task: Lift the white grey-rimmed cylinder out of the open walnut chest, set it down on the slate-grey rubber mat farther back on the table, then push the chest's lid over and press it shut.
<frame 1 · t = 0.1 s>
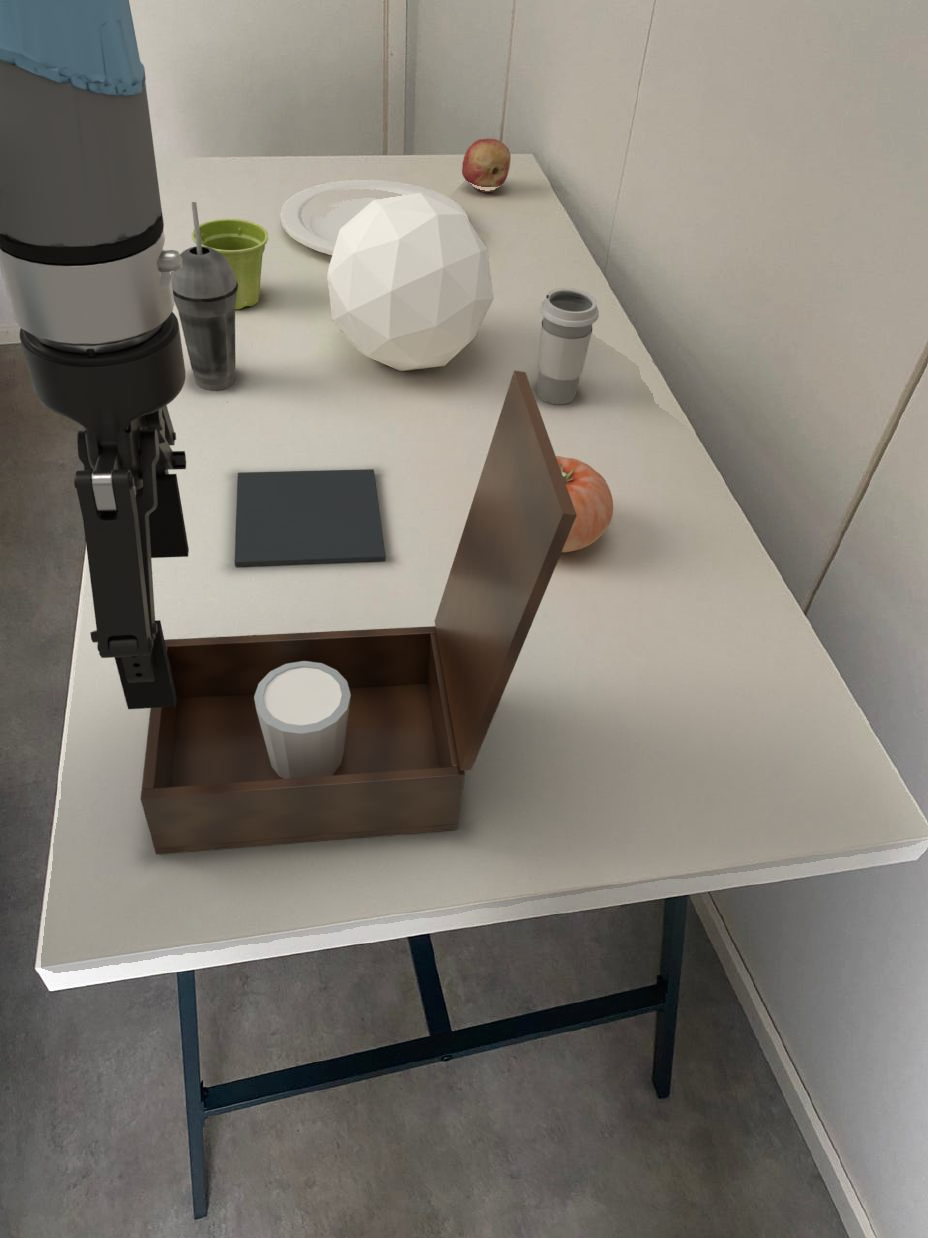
hand: (161, 623, 62), 16 cm above the table, tool pointing down, fingers open, 13 cm apart
drying mat: (308, 517, 96), on the table
beverage cup: (215, 381, 113), on the table
plant pot: (236, 300, 127), on the table
chest: (307, 760, 75), on the table
tomato: (551, 536, 97), on the table
ball: (407, 358, 120), on the table
fruit: (483, 191, 160), on the table
plate: (375, 232, 145), on the table
cup: (555, 395, 116), on the table
white grey-rimmed cylinder: (306, 756, 74), point 1 cm above the table, touching chest
chest lid: (491, 578, 64), point 18 cm above the table, hinge at 100.0°
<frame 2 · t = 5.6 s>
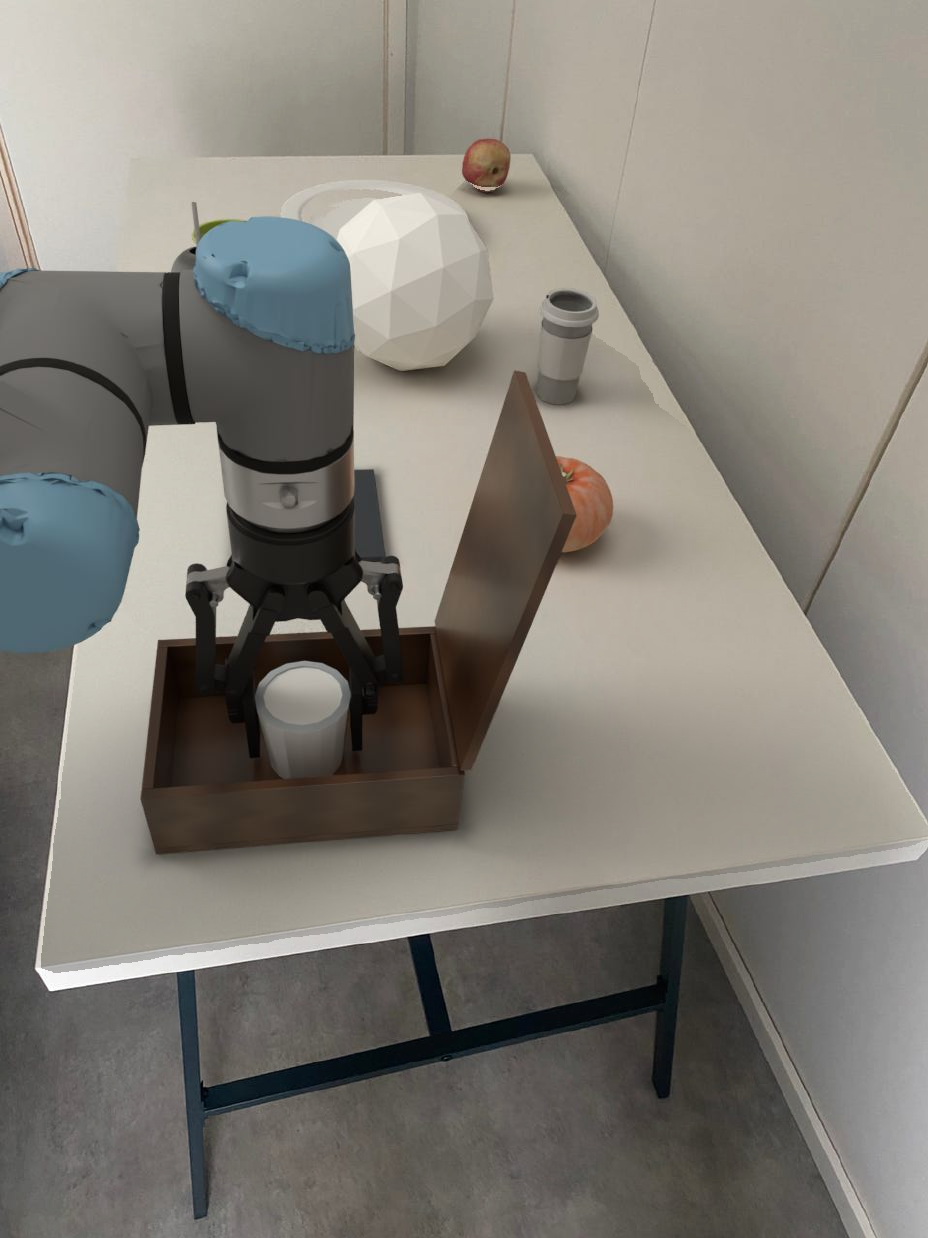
hand: (305, 739, 73), 3 cm above the table, tool pointing down, fingers closed on white grey-rimmed cylinder, 7 cm apart
white grey-rimmed cylinder: (306, 756, 74), point 1 cm above the table, touching chest, gripper
everything else where it was.
when the fingers open (2 cm above the table, at t = 13.9 s): white grey-rimmed cylinder stays where it is, resting on drying mat.
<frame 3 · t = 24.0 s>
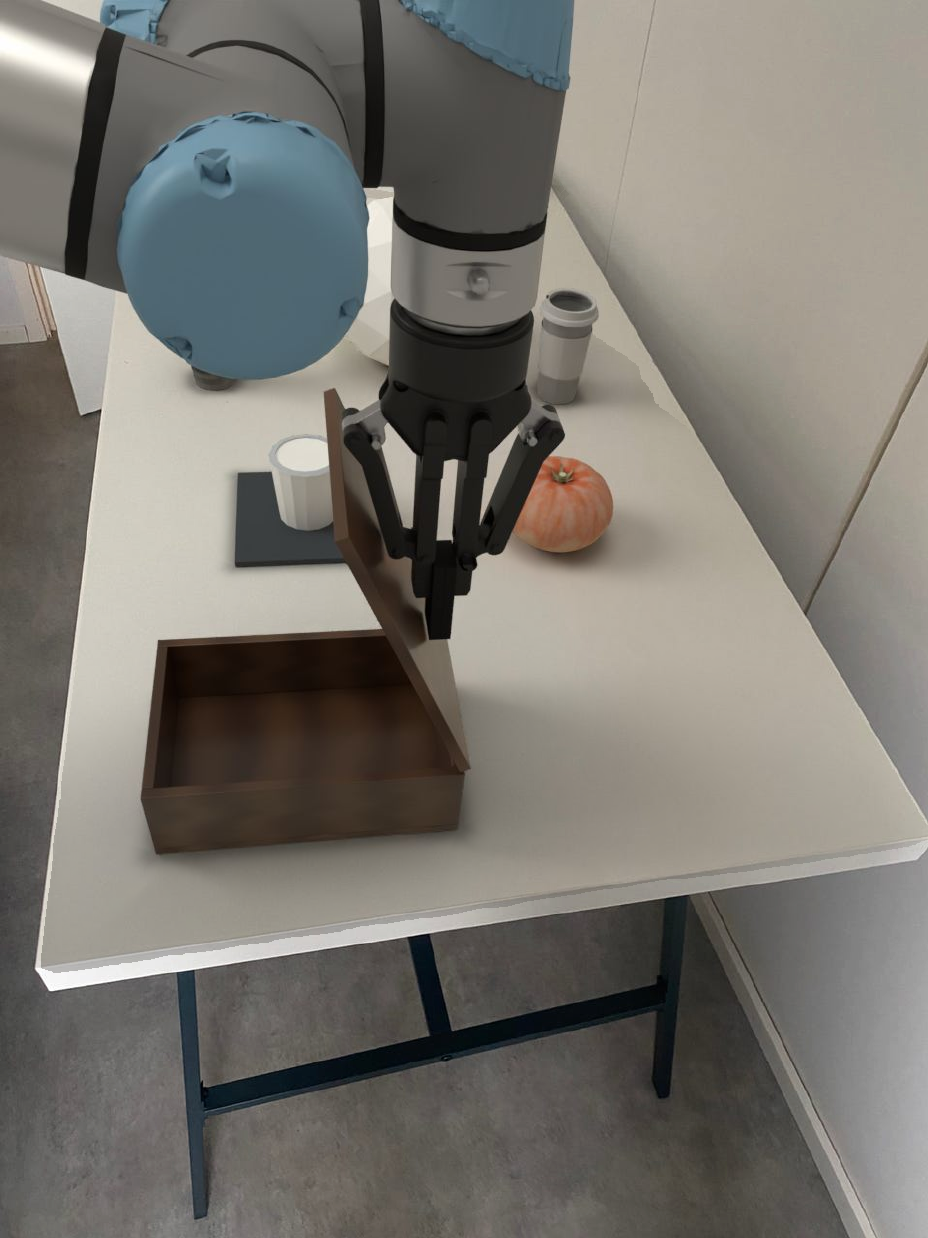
hand: (437, 625, 66), 14 cm above the table, tool pointing down, fingers closed
white grey-rimmed cylinder: (308, 514, 96), resting on drying mat
chest lid: (400, 588, 63), point 18 cm above the table, hinge at 68.8°, touching gripper
everything else where it was.
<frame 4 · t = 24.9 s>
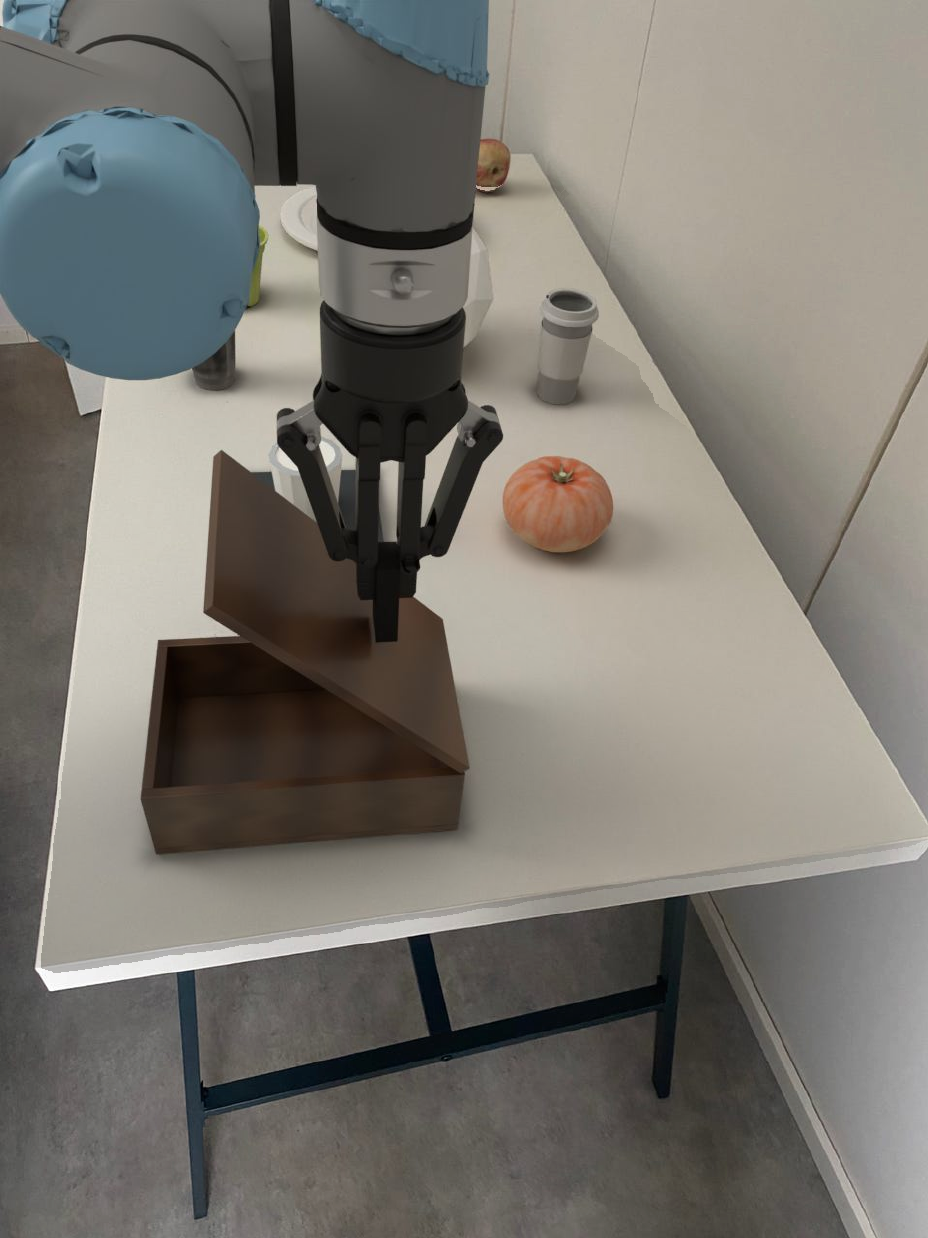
hand: (384, 627, 66), 14 cm above the table, tool pointing down, fingers closed
chest lid: (345, 616, 64), point 15 cm above the table, hinge at 46.8°, touching gripper
everything else where it was.
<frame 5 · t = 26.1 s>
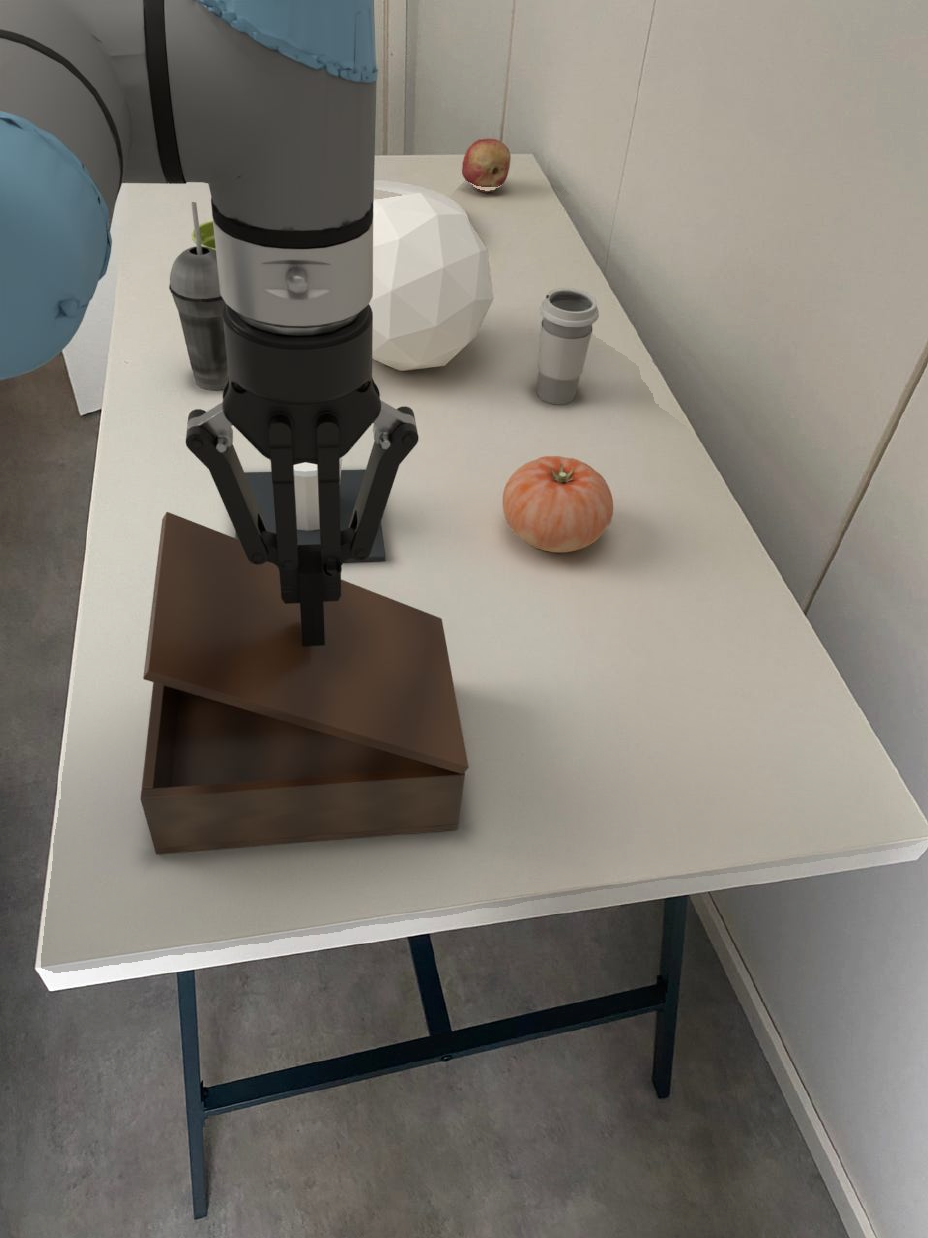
hand: (313, 631, 65), 14 cm above the table, tool pointing down, fingers closed
chest lid: (316, 644, 66), point 13 cm above the table, hinge at 30.5°
everything else where it was.
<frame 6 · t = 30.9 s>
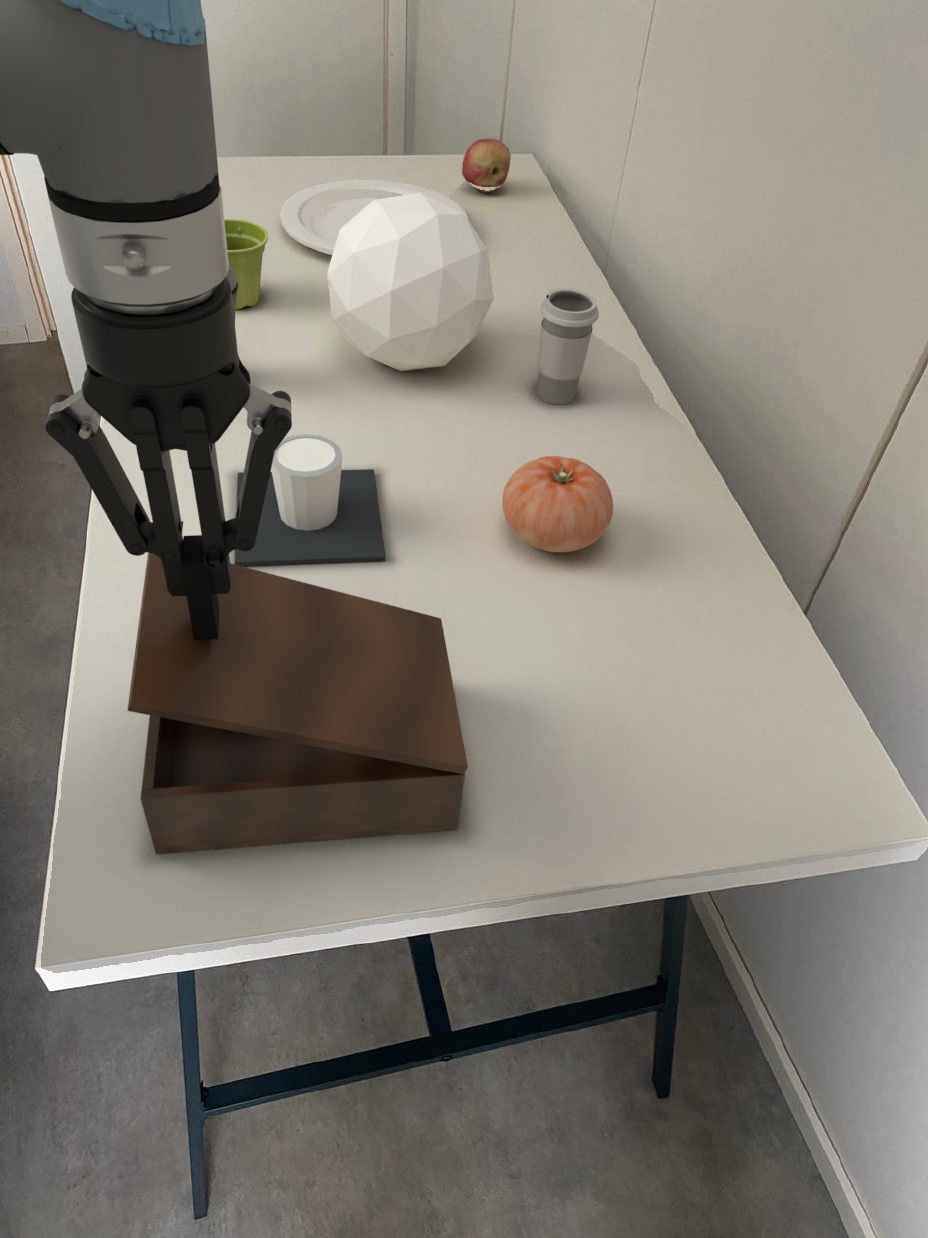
hand: (207, 624, 63), 15 cm above the table, tool pointing down, fingers closed
chest lid: (306, 658, 67), point 12 cm above the table, hinge at 22.9°
everything else where it was.
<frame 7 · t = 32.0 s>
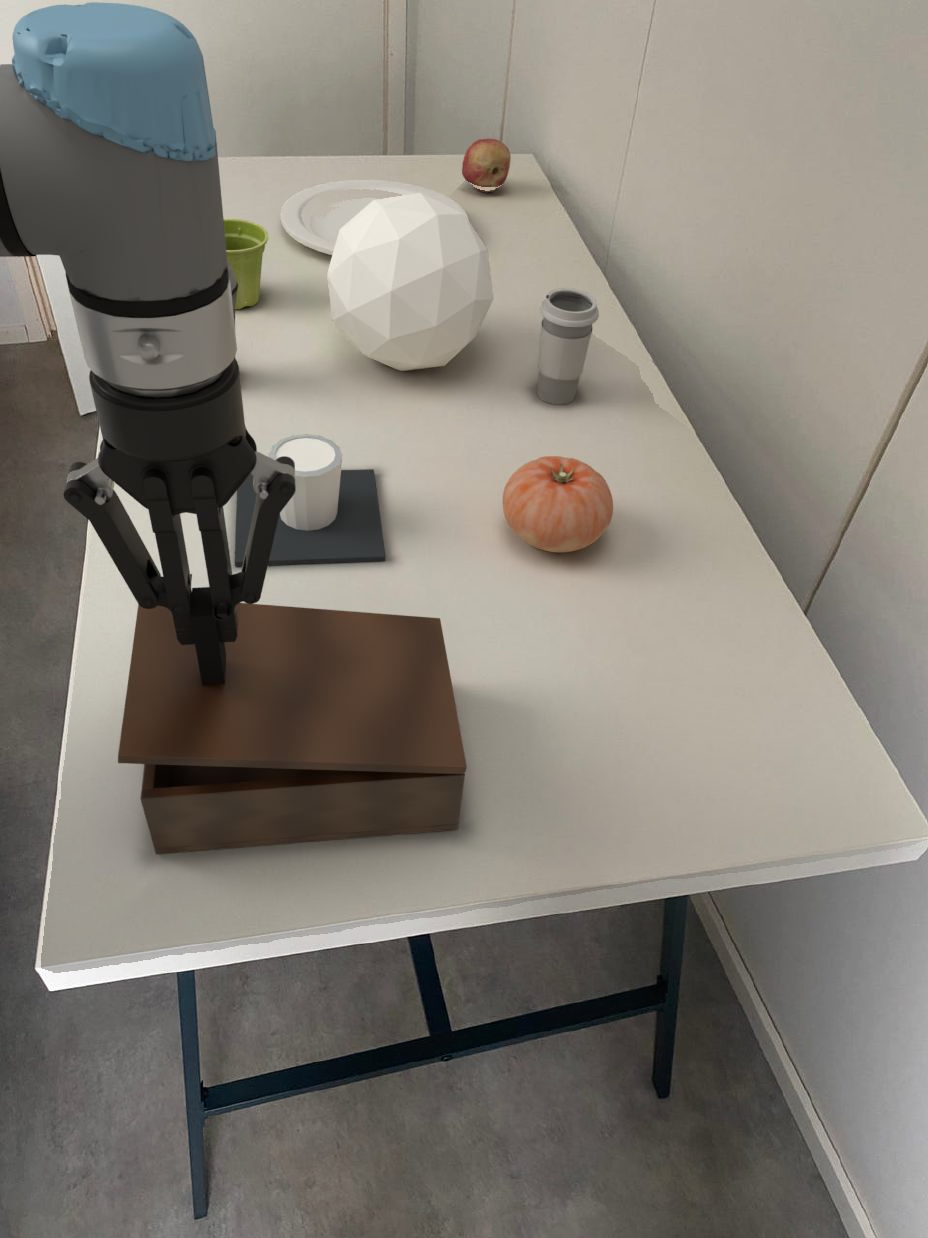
hand: (214, 669, 66), 11 cm above the table, tool pointing down, fingers closed
chest lid: (297, 682, 68), point 9 cm above the table, hinge at 9.8°, touching gripper
everything else where it was.
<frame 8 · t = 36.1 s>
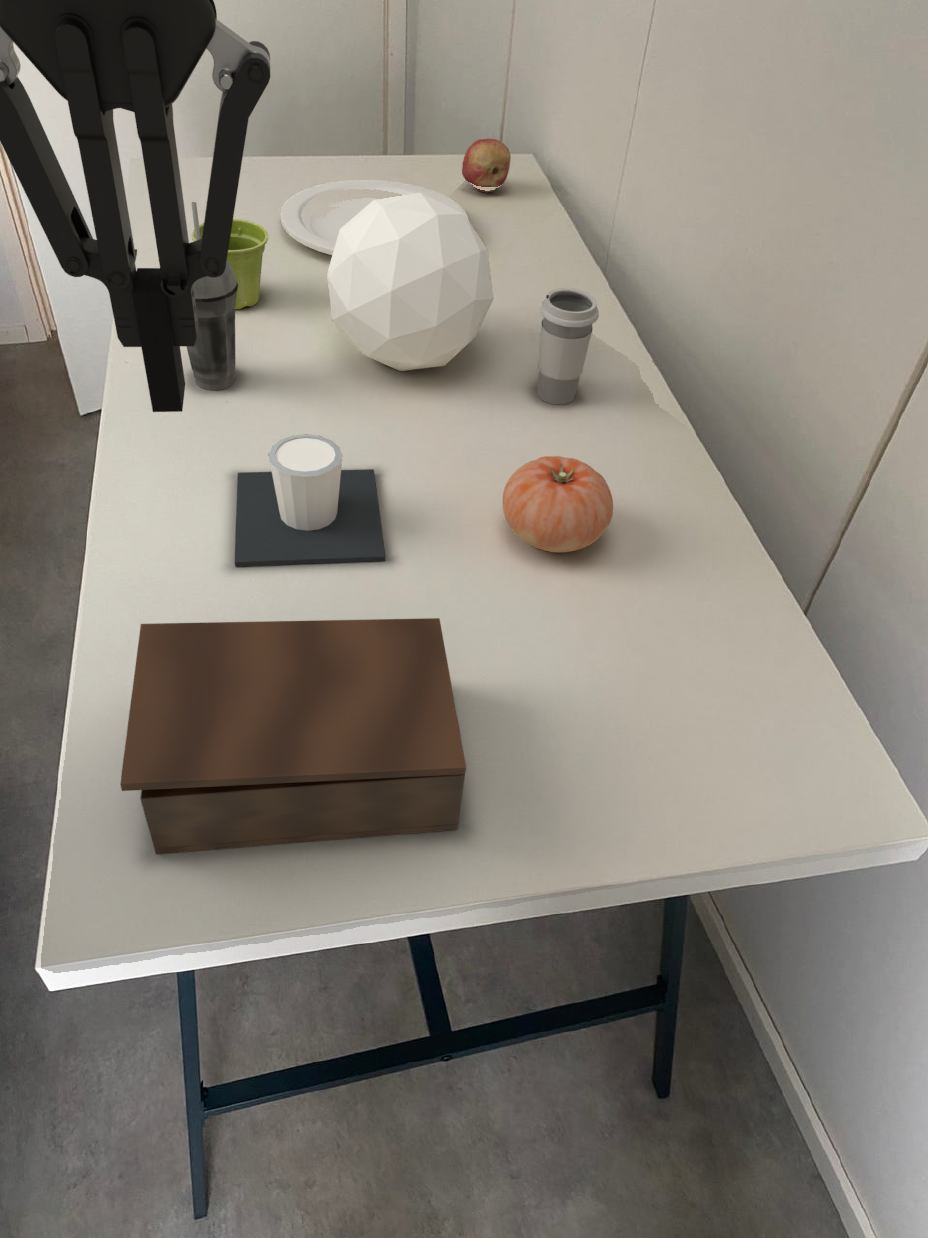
hand: (169, 397, 51), 32 cm above the table, tool pointing down, fingers closed
chest lid: (296, 696, 69), point 8 cm above the table, hinge at 2.4°
everything else where it was.
at the end: white grey-rimmed cylinder inside the target area on the drying mat (0.0 cm from its centre), point 0.4 cm above the drying mat's base; white grey-rimmed cylinder tilted 0°; chest lid at +2° (first picture: +100°) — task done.
